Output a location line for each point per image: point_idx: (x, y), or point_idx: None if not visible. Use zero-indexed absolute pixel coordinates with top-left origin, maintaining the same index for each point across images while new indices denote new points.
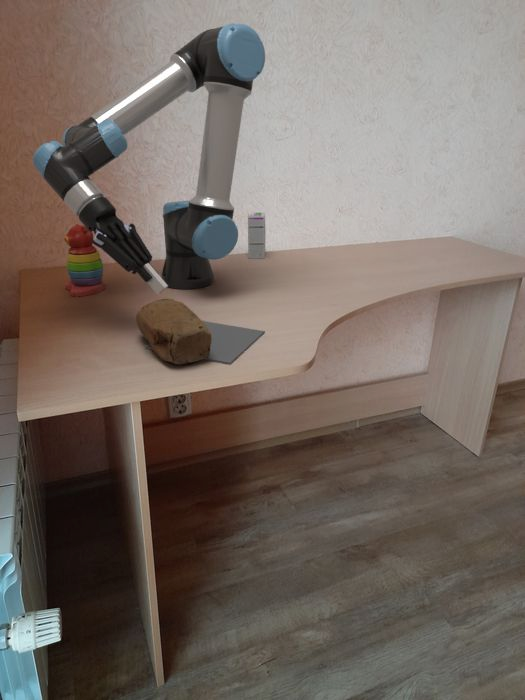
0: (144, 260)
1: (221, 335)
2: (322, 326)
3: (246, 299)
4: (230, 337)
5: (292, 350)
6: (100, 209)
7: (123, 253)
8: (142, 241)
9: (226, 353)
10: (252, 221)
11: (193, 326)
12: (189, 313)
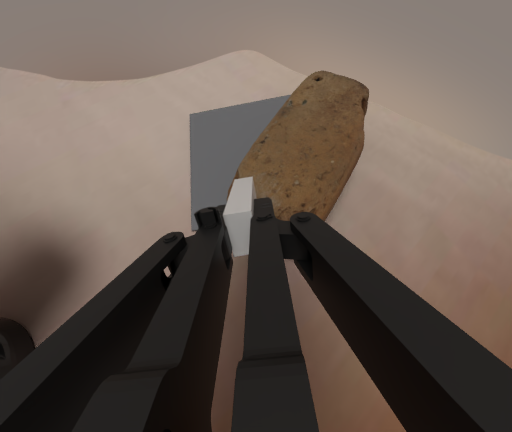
0: (222, 230)
1: (229, 147)
2: (143, 80)
3: (69, 207)
4: (230, 134)
5: (224, 70)
6: None
7: (340, 256)
8: (73, 317)
9: (278, 110)
10: None
11: (323, 86)
12: (283, 118)
